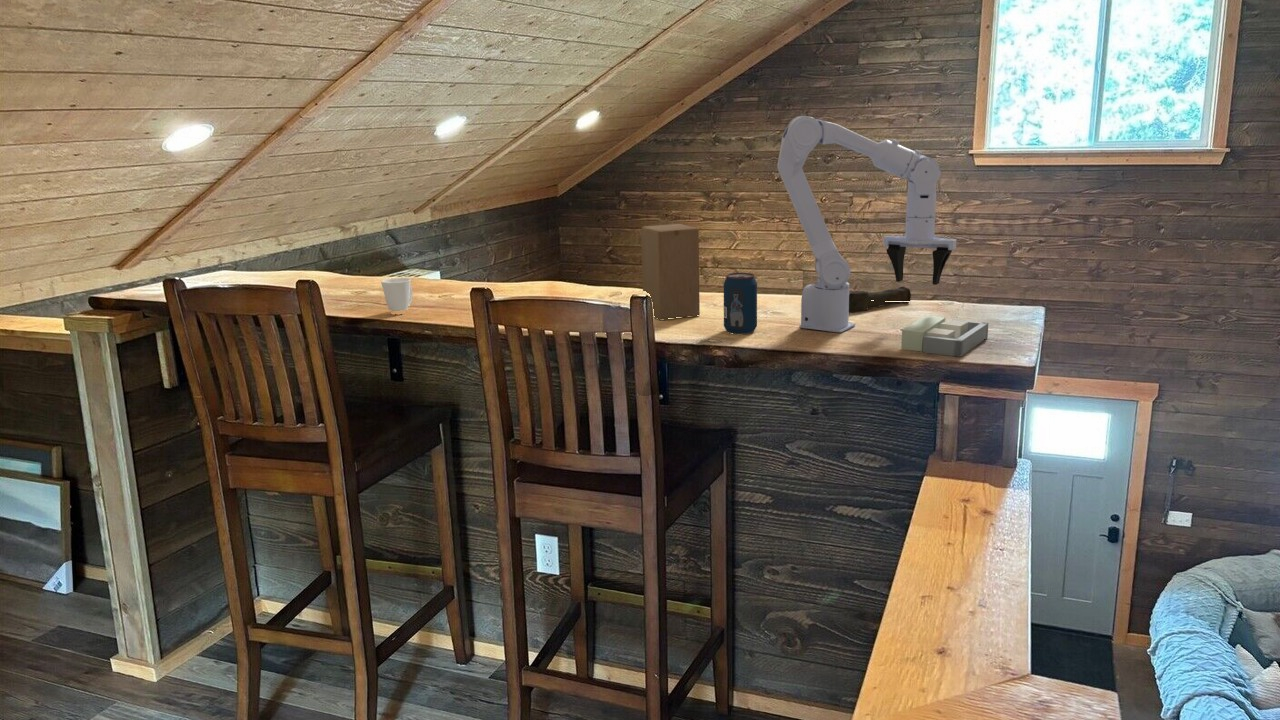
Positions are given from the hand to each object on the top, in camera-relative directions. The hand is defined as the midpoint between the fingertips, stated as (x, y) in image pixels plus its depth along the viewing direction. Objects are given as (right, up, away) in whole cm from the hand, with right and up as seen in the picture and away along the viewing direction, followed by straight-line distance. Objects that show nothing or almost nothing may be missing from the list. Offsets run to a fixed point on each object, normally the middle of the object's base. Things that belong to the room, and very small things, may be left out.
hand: (917, 282), depth 198 cm
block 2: (+5, -12, -9) cm, 16 cm away
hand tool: (-3, -4, +22) cm, 23 cm away
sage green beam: (-2, -13, -10) cm, 16 cm away
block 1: (0, -14, -15) cm, 21 cm away
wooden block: (-50, -6, +21) cm, 55 cm away
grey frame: (+4, -13, -13) cm, 19 cm away
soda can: (-36, -10, +3) cm, 38 cm away
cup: (-115, -5, +32) cm, 119 cm away
